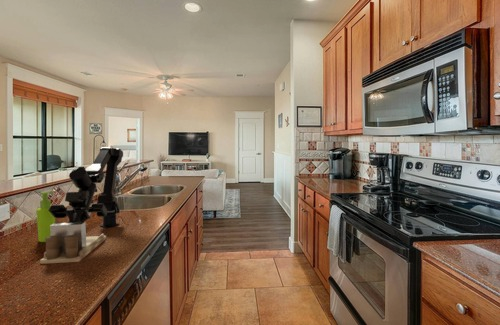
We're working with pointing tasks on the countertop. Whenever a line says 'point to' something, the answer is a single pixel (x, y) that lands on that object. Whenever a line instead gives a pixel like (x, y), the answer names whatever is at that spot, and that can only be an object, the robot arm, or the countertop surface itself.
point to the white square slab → (69, 233)
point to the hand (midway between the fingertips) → (71, 231)
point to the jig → (69, 248)
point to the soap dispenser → (44, 217)
